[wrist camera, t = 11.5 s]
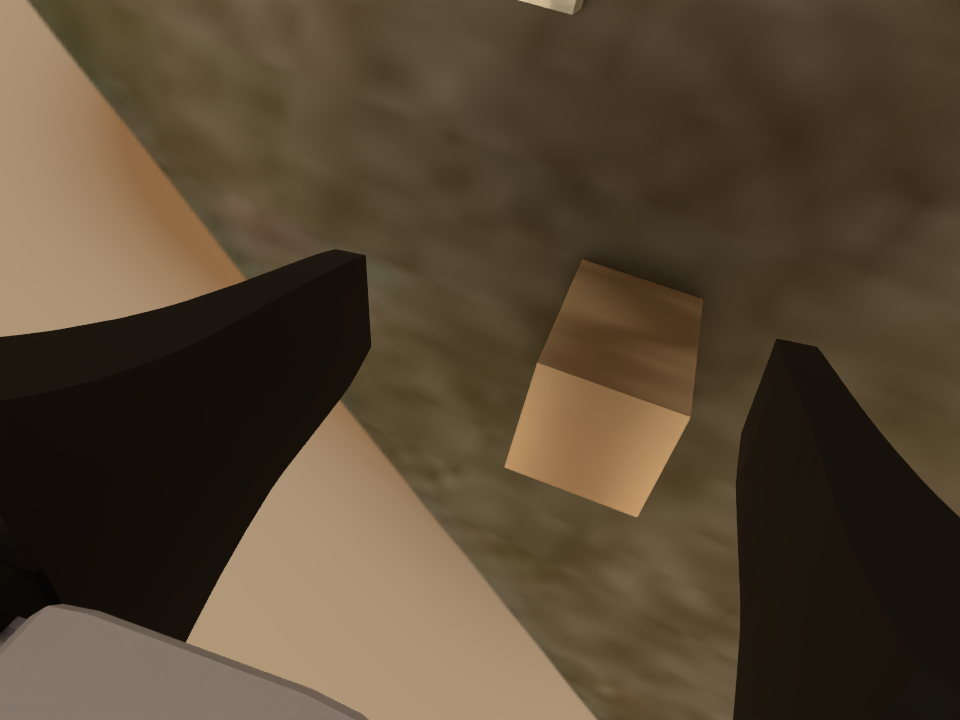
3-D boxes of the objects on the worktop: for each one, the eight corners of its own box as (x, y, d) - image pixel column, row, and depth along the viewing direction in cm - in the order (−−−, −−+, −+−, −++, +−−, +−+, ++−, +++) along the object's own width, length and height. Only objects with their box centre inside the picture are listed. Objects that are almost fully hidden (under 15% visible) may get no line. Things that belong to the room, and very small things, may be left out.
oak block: (703, 298, 21) (690, 417, 17) (659, 391, 24) (636, 517, 19) (582, 258, 22) (537, 362, 17) (551, 354, 24) (504, 467, 20)
